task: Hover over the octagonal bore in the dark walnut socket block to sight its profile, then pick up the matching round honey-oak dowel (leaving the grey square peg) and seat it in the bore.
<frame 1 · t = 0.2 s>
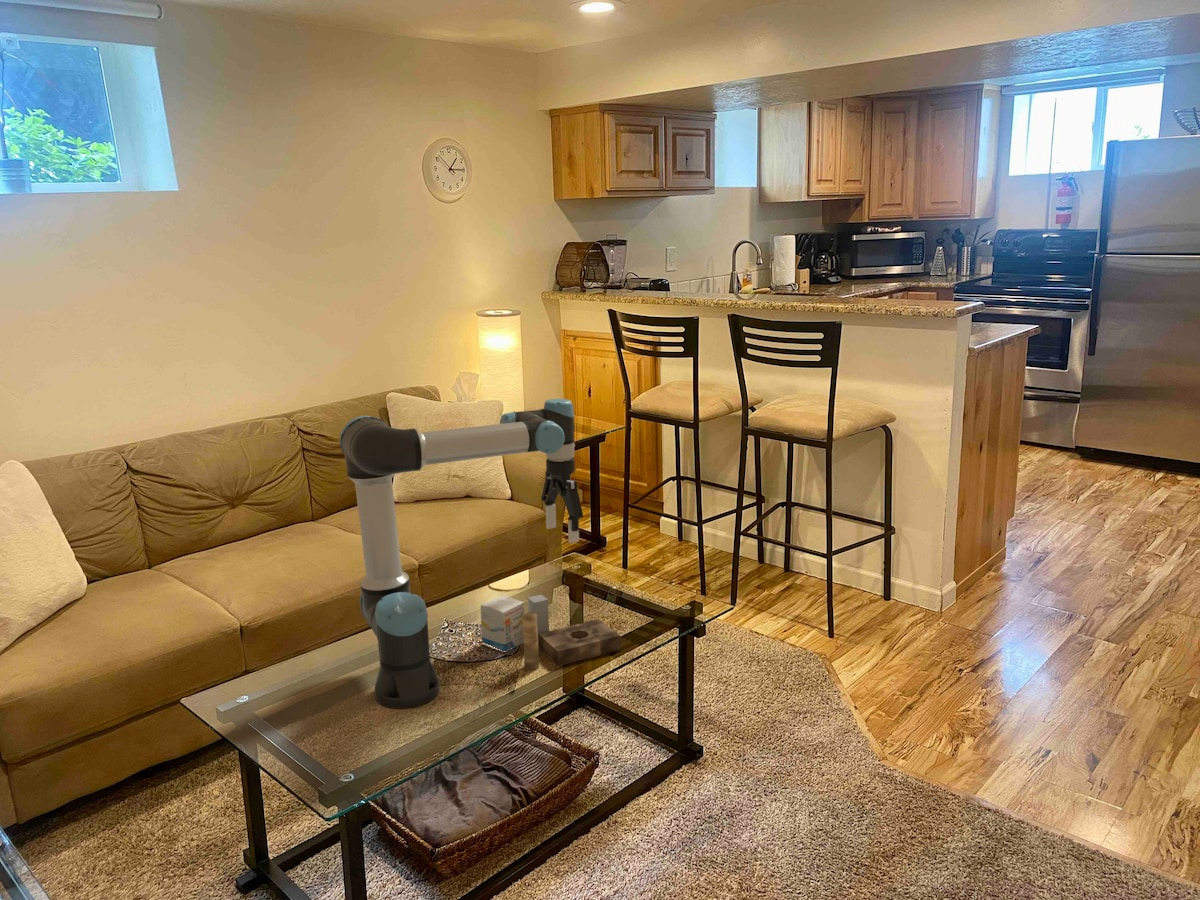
hand: (562, 534, 238), 27 cm above the table, fingers open, 13 cm apart
oak dowel: (531, 667, 223), on the table
square peg: (539, 640, 238), on the table
socket block: (579, 648, 232), on the table
ink box: (504, 644, 237), on the table
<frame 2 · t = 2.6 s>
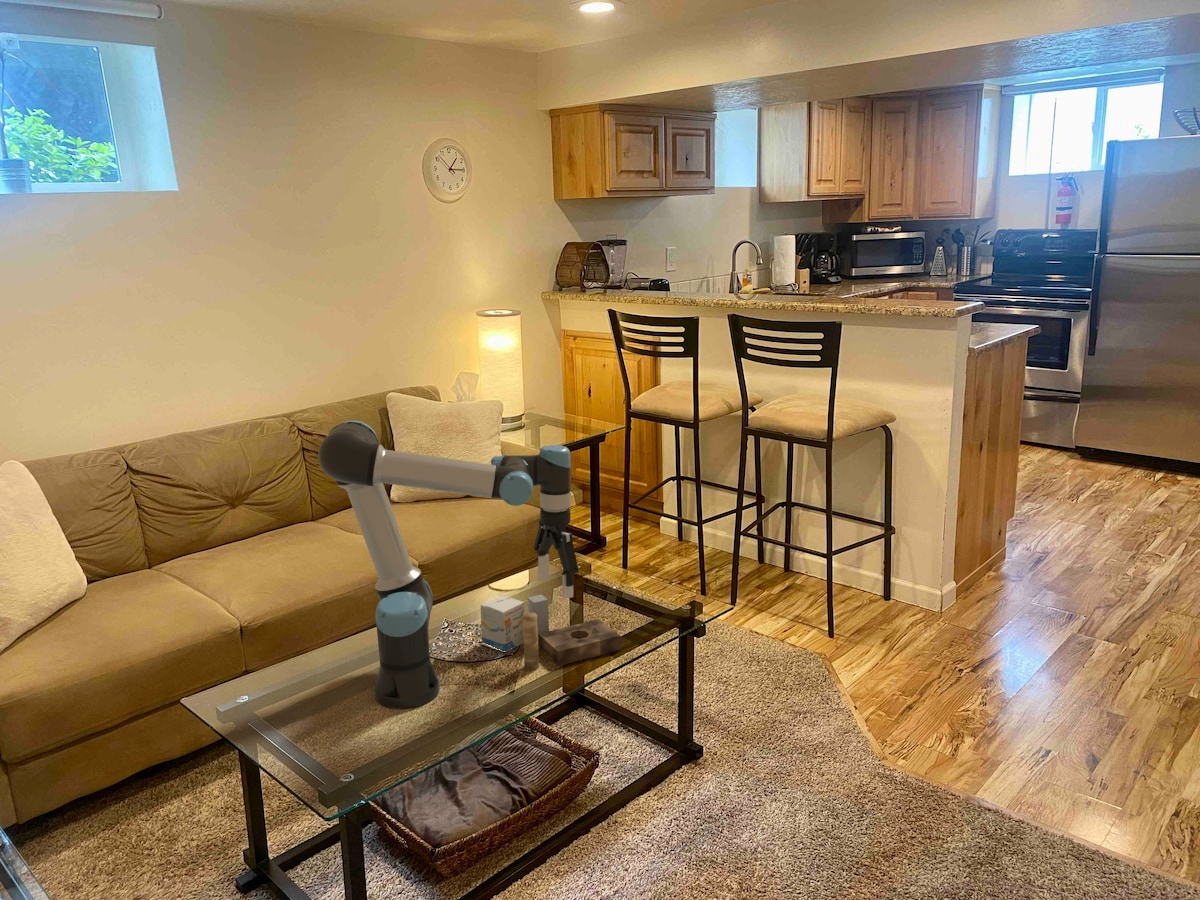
hand: (555, 588, 224), 19 cm above the table, fingers open, 13 cm apart
nothing on the table moved.
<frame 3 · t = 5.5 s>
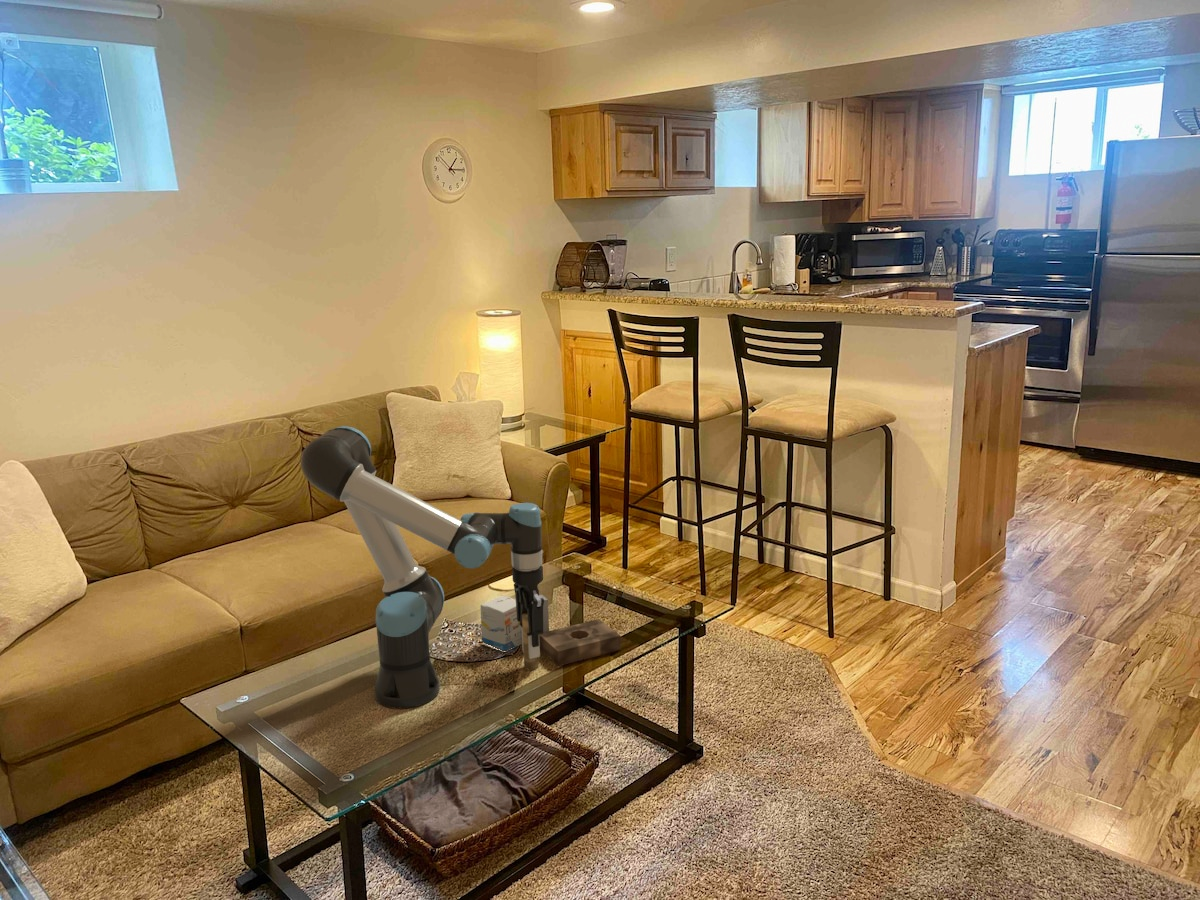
hand: (531, 653, 222), 4 cm above the table, fingers closed on oak dowel, 3 cm apart
oak dowel: (531, 666, 223), on the table, touching gripper
everything else where it was.
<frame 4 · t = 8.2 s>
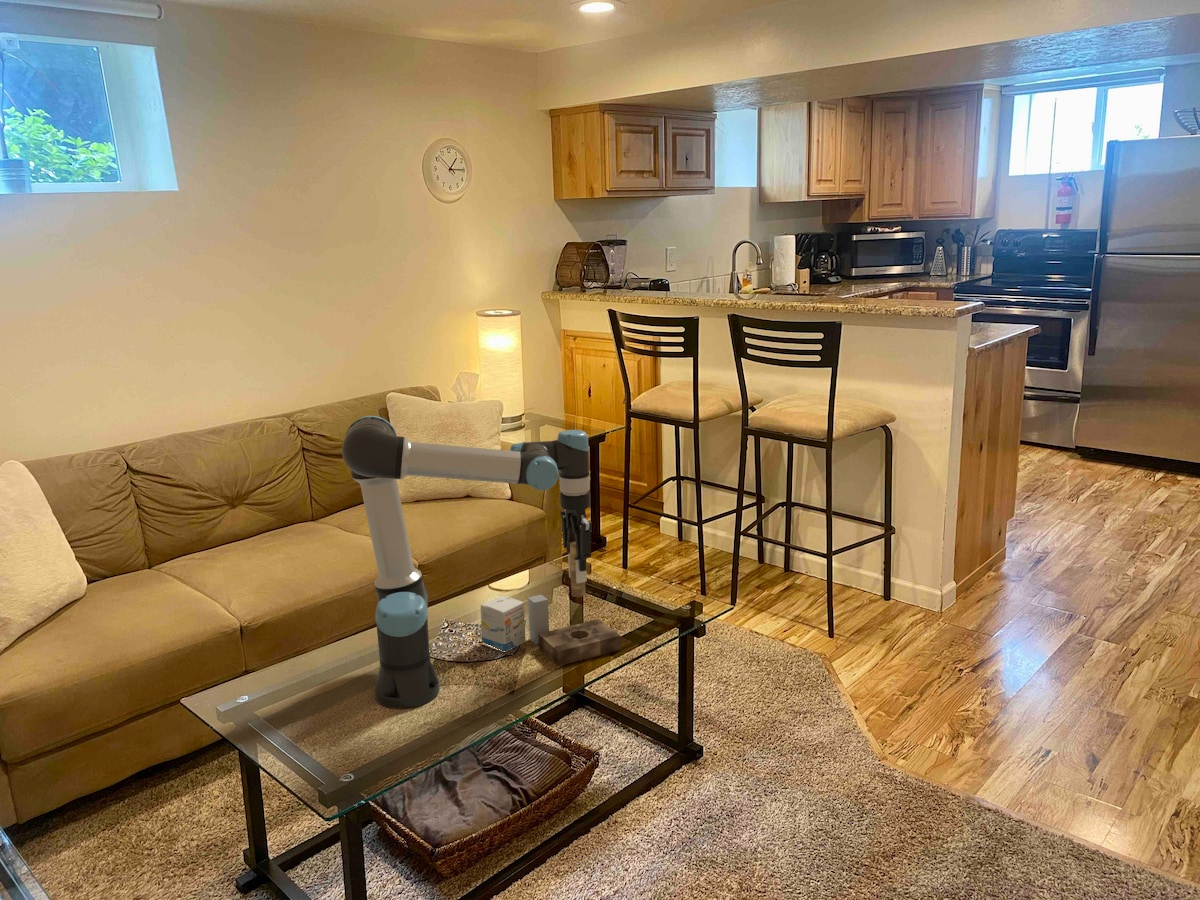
hand: (577, 579, 228), 19 cm above the table, fingers closed on oak dowel, 3 cm apart
oak dowel: (578, 594, 229), point 15 cm above the table, touching gripper
everything else where it was.
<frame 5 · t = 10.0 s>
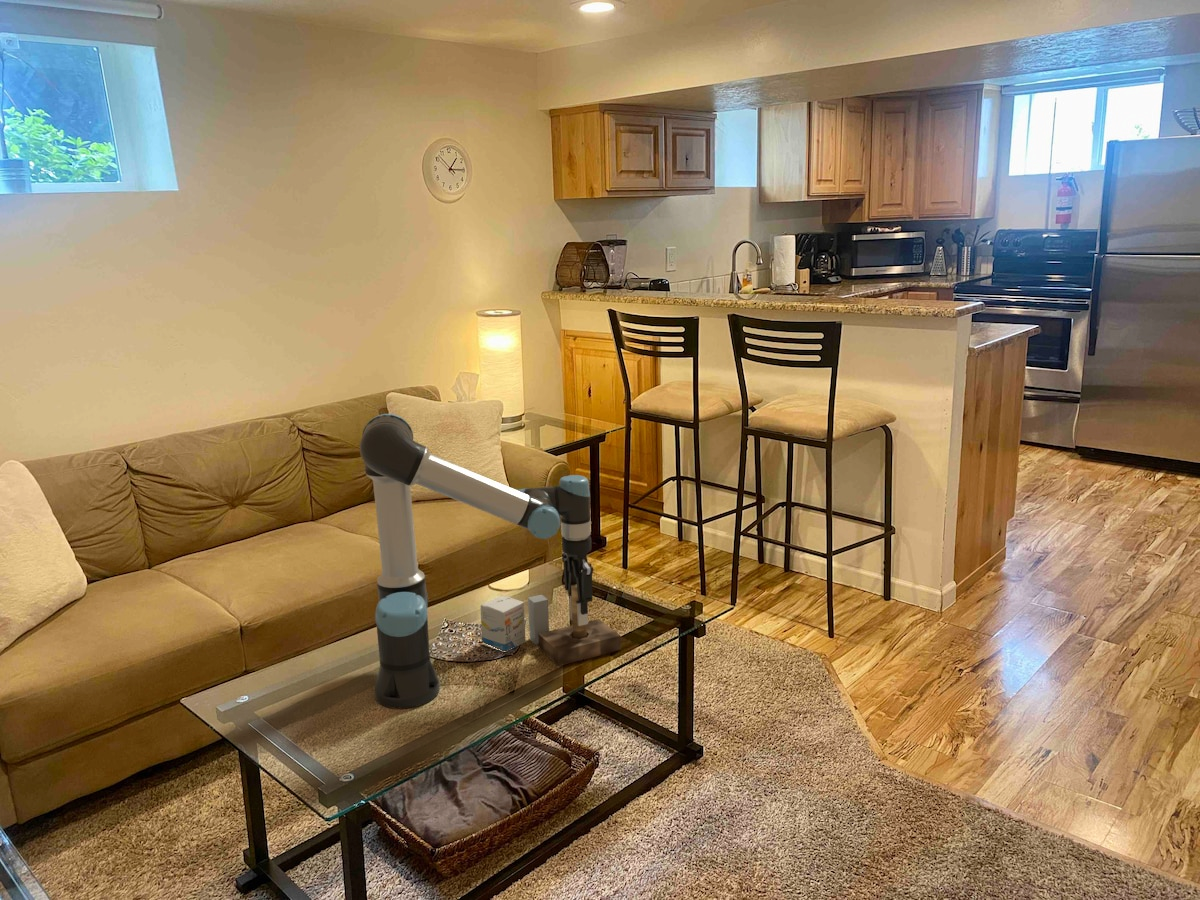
hand: (579, 621, 231), 8 cm above the table, fingers closed on oak dowel, 3 cm apart
oak dowel: (580, 636, 232), point 4 cm above the table, touching gripper
everything else where it was.
when the fingers open (5 cm above the table, at t = 11.2 s): oak dowel stays where it is, resting in socket block.
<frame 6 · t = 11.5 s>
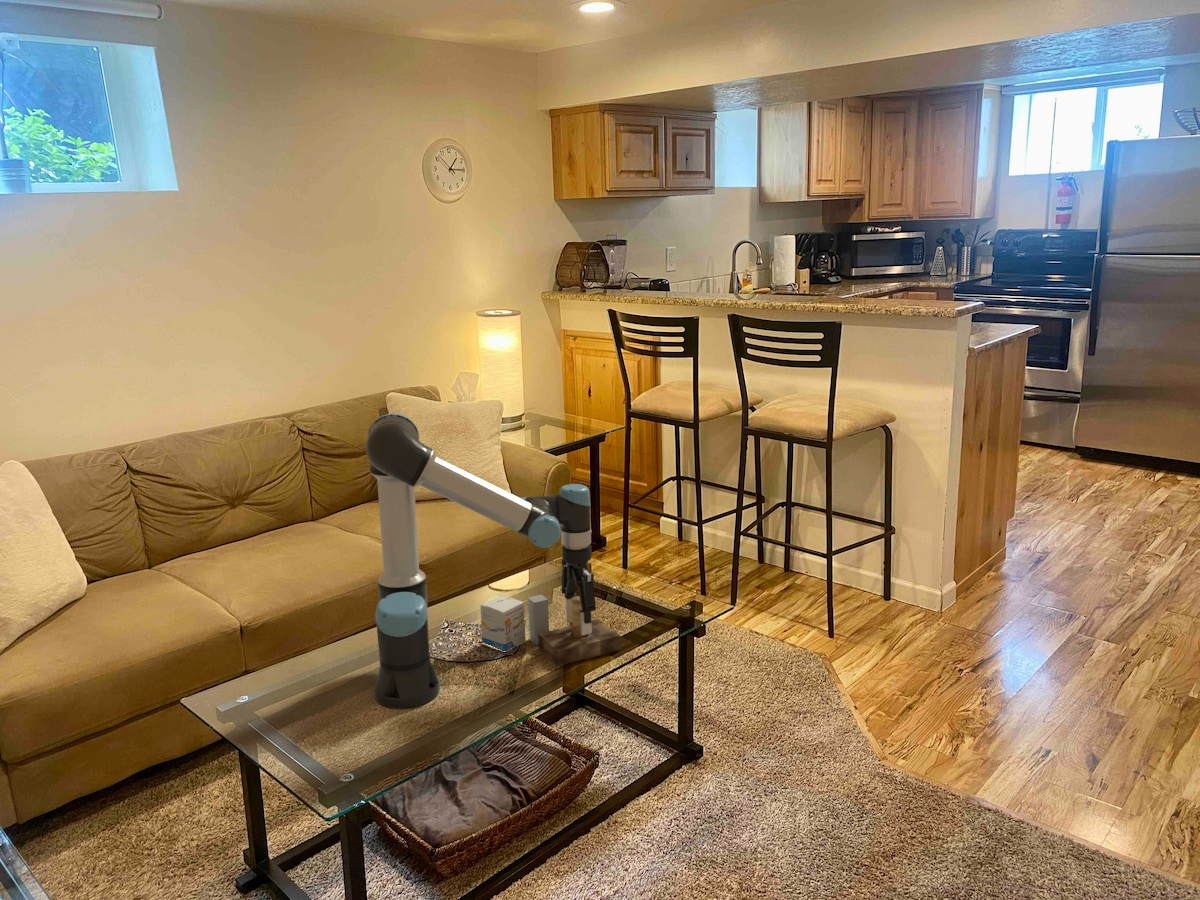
hand: (579, 627, 231), 6 cm above the table, fingers open, 8 cm apart
oak dowel: (579, 648, 233), resting in socket block
everything else where it was.
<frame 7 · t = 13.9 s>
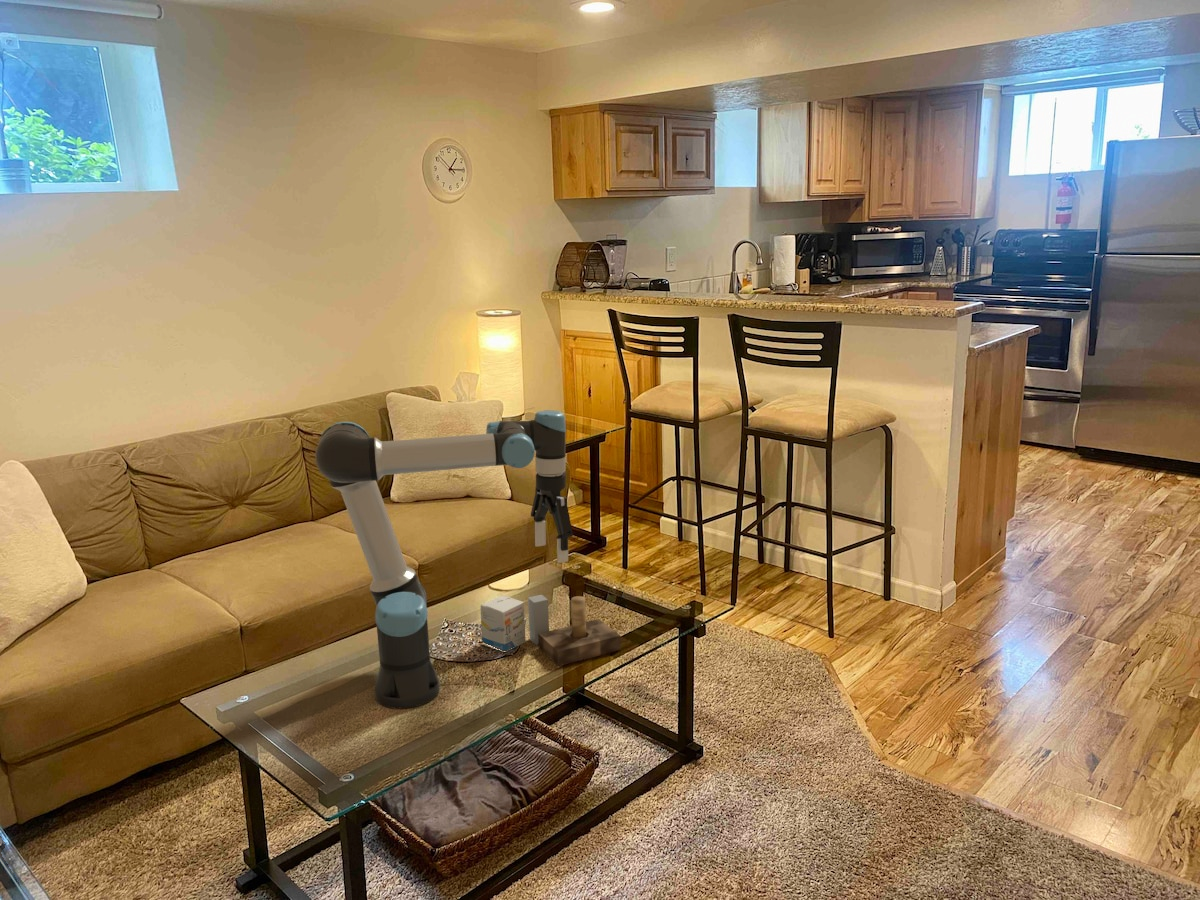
hand: (551, 553, 226), 27 cm above the table, fingers open, 13 cm apart
nothing on the table moved.
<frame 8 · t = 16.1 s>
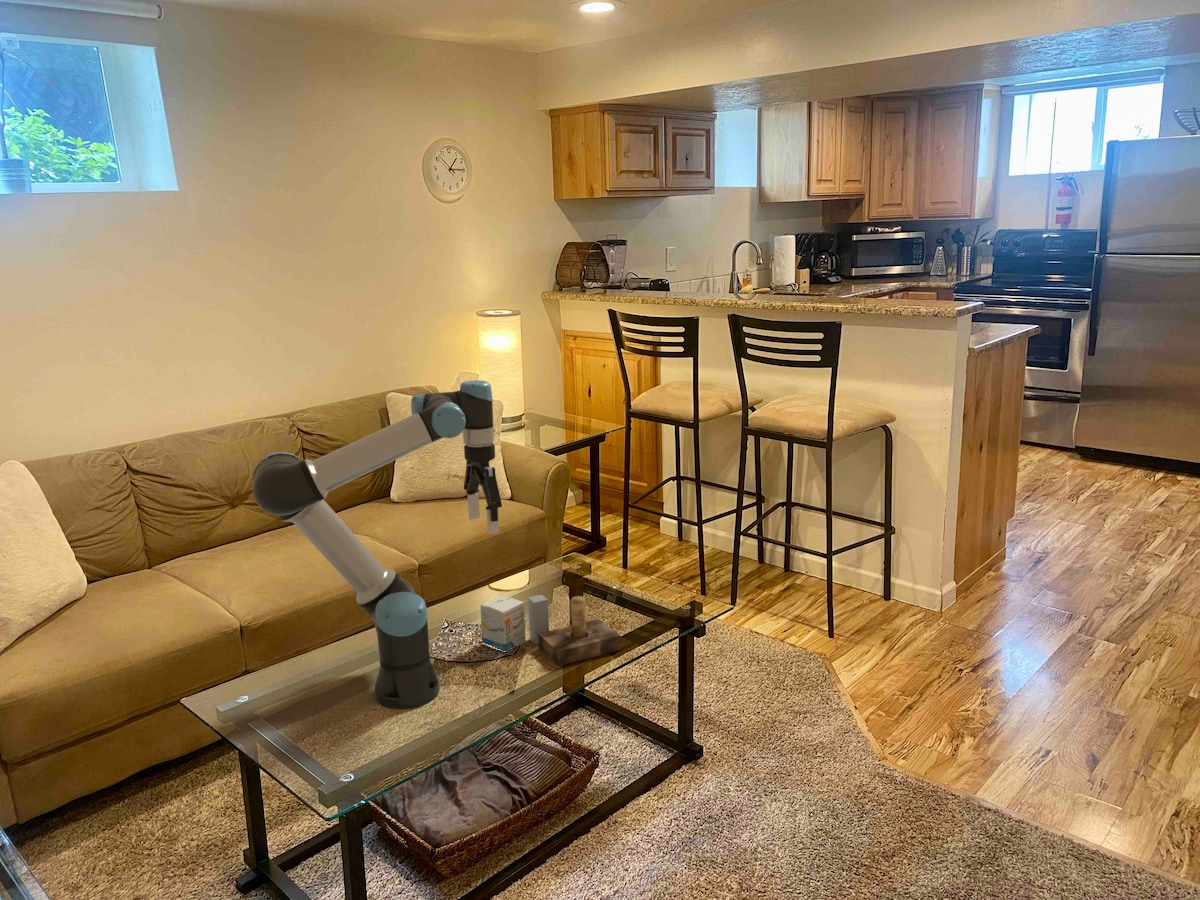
hand: (483, 525, 223), 35 cm above the table, fingers open, 13 cm apart
nothing on the table moved.
at the end: oak dowel 0.0 cm off-centre on the socket block, point 0.0 cm above the socket block's base; oak dowel tilted 0°; the gripper is holding nothing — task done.
